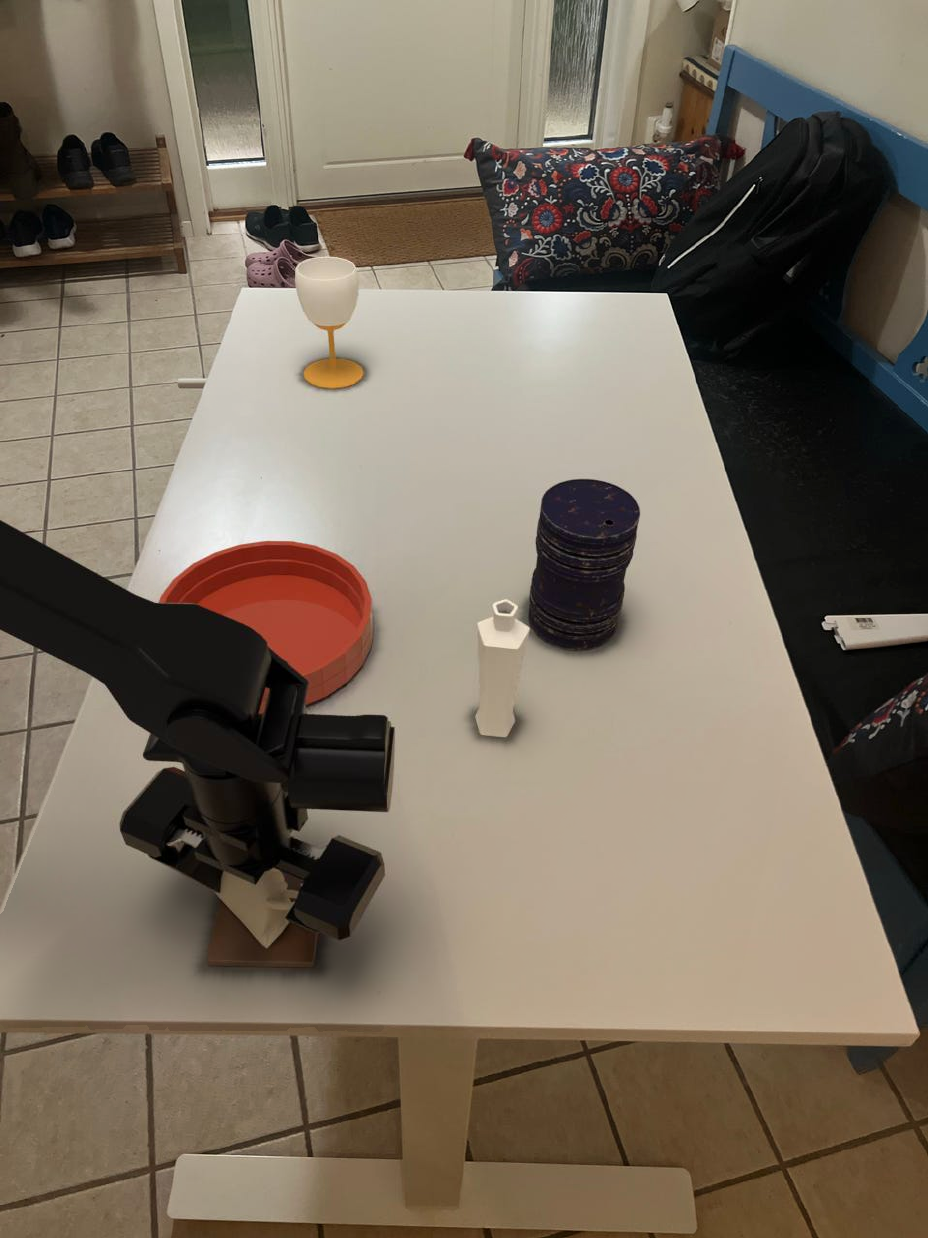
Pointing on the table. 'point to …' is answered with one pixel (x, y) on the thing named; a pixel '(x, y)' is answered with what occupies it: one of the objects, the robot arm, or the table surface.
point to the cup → (329, 314)
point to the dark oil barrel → (581, 562)
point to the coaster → (243, 949)
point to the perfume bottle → (499, 668)
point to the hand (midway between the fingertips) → (265, 907)
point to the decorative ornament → (259, 903)
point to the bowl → (288, 606)
